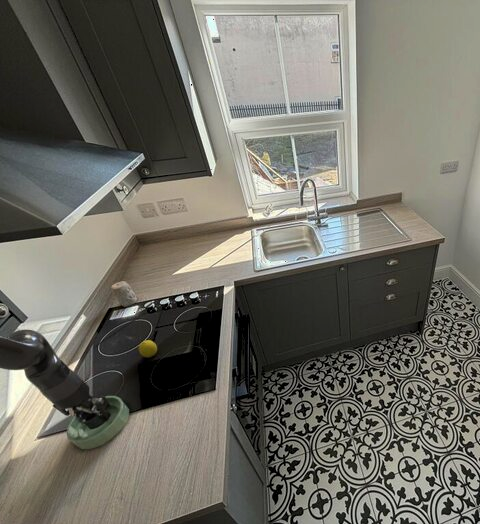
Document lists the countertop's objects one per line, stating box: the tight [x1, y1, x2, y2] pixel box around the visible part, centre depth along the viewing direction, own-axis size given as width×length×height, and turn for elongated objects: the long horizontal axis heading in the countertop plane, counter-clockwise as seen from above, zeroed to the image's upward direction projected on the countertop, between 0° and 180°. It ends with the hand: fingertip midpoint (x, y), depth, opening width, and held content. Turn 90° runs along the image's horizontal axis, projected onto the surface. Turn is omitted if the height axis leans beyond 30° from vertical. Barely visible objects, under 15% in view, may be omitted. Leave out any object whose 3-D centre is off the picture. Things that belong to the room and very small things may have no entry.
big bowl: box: [66, 395, 130, 450], centre depth 91 cm, size 14×14×5 cm
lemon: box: [138, 339, 158, 358], centre depth 113 cm, size 6×6×8 cm
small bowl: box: [78, 404, 109, 430], centre depth 90 cm, size 6×6×4 cm
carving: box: [110, 280, 137, 308], centre depth 138 cm, size 6×8×12 cm
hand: (97, 418), depth 90 cm, fingers closed on small bowl, 6 cm apart
